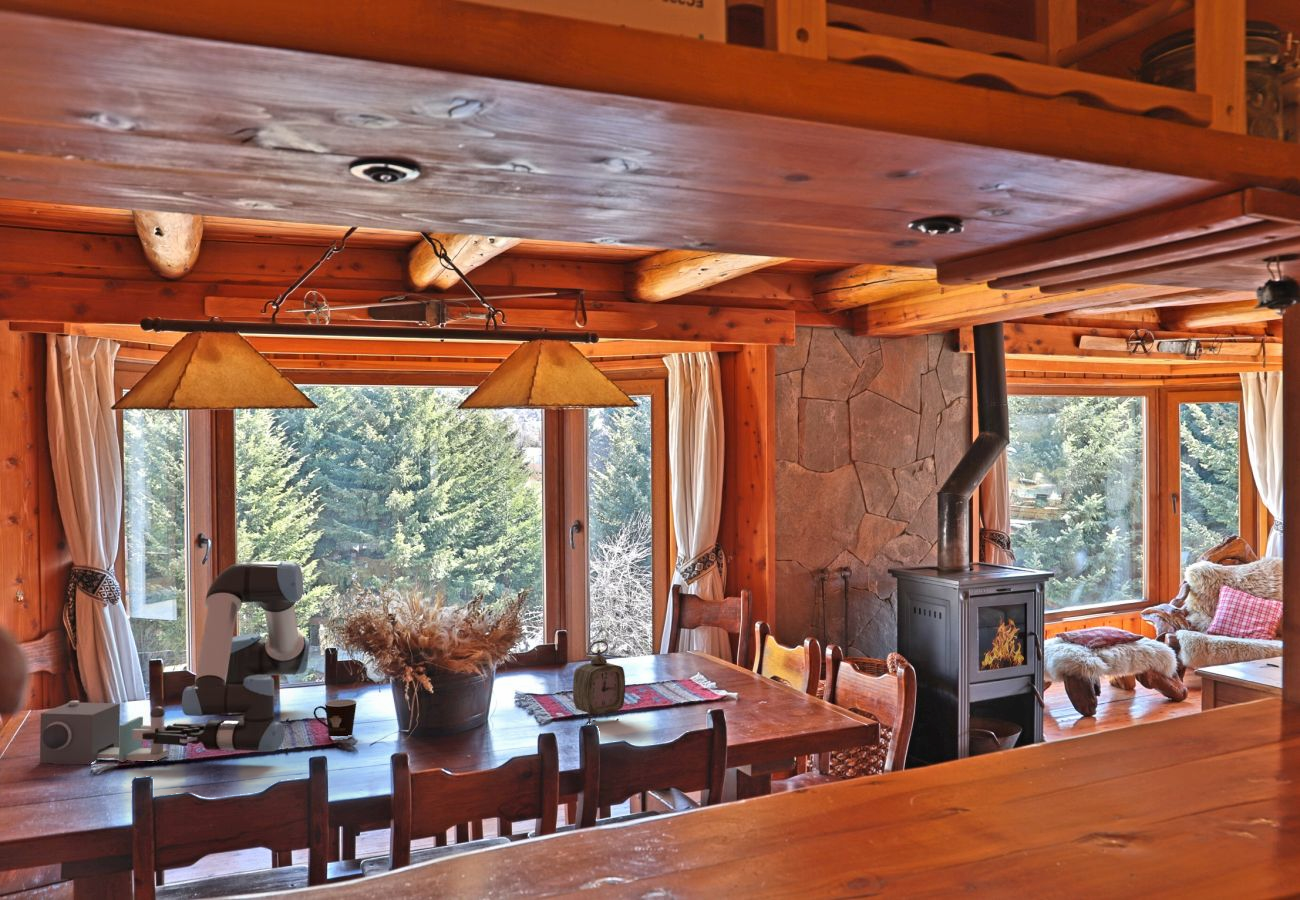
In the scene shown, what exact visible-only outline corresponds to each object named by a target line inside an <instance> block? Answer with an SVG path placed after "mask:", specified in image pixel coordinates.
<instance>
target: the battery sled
mask: <svg viewBox="0 0 1300 900" xmlns="http://www.w3.org/2000/svg"><path fill="white" fill-rule="evenodd" d="M165 712H166V711H165V709H164V707H162V706H158V705H157V706H154V707H152V709H151V710H150V715H149V716H150V725H151V729H153V730H155V729H156V728H158V731H164V726H165V725H164V724H165V723H164V722H165V718H164V717H165ZM142 725H144V716H138V717H135V718H133V719H131V720H129V721H126V722H124V723H122V724H120V727H119V748H116V747H105V748H102V749H100V750H98V758H115V759H119V761H125V760H154V761H156V760H159V759H161V758H163V757H165V756H166V757H168V756H169V748H164V744H154V743H153V741H150V748H148V747H146V748H145V747H144V748H143V741H144V740H132V730H133V729H140V727H141V726H142ZM167 755H168V756H167ZM166 757H165V758H166ZM163 759H164V758H163ZM161 760H162V759H161ZM119 761H118V762H119ZM159 761H160V760H159Z"/></svg>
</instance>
